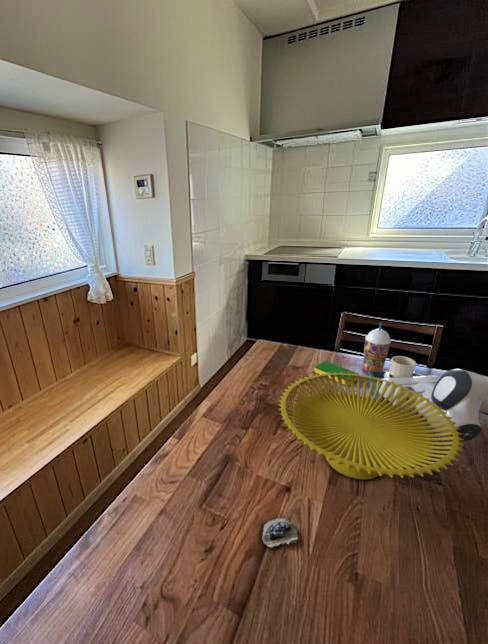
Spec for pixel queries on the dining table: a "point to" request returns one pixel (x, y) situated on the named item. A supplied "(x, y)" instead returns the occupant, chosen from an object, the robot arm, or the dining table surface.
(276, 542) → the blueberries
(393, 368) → the cup
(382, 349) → the smoothie
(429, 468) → the yellow slatted bowl
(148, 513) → the dining table surface
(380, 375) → the basin
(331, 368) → the dish sponge
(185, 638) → the dining table surface
